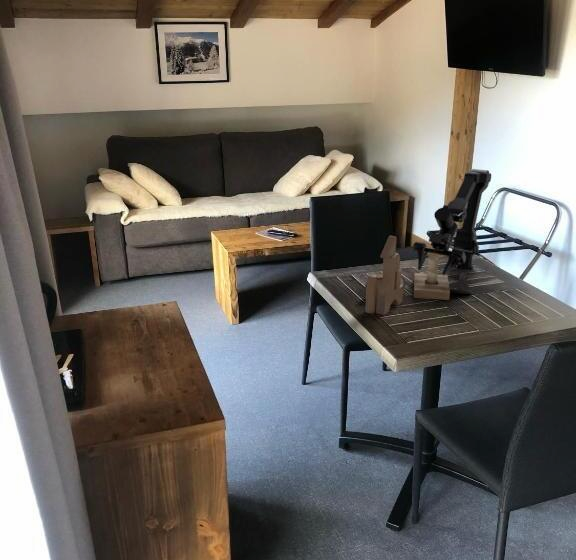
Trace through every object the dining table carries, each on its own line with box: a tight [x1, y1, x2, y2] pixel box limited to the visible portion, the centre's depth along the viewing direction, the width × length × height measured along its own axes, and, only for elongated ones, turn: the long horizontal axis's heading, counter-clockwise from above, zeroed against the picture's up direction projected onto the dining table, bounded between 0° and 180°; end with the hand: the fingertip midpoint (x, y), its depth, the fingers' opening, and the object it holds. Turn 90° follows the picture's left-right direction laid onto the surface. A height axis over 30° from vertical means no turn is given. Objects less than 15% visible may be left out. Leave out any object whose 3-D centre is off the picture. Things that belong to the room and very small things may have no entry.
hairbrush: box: [449, 273, 473, 295], centre depth 212 cm, size 8×4×25 cm
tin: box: [364, 273, 406, 300], centre depth 201 cm, size 15×3×8 cm, turn 111°
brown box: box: [413, 272, 451, 301], centre depth 208 cm, size 18×12×3 cm, turn 168°
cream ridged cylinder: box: [426, 255, 440, 285], centre depth 206 cm, size 4×4×12 cm
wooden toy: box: [365, 235, 404, 316], centre depth 189 cm, size 16×7×25 cm, turn 144°
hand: (430, 272), depth 205 cm, fingers open, 9 cm apart
